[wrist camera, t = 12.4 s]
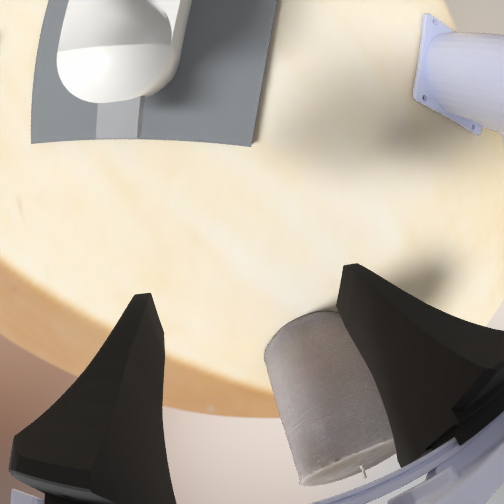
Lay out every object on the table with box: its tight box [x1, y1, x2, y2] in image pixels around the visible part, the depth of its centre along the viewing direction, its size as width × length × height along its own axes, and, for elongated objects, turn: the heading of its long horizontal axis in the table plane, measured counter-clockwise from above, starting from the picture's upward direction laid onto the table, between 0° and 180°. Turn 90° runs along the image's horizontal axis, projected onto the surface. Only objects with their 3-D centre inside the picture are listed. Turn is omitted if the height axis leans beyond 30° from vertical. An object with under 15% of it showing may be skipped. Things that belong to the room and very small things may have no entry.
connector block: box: [57, 0, 192, 139], centre depth 9 cm, size 4×11×6 cm, turn 171°
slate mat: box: [31, 0, 277, 147], centre depth 11 cm, size 14×14×1 cm
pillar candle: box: [264, 311, 396, 486], centre depth 21 cm, size 10×10×15 cm
